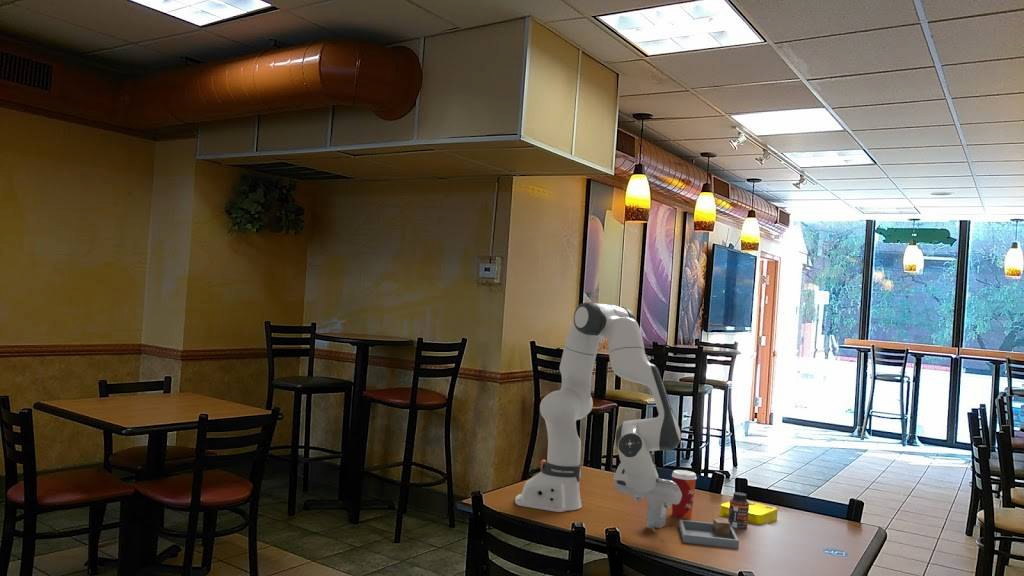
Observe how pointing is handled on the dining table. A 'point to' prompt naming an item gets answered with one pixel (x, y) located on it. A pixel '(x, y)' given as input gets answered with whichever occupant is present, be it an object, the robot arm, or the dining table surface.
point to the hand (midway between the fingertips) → (653, 503)
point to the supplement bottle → (738, 511)
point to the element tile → (754, 512)
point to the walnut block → (721, 527)
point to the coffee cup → (684, 493)
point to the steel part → (655, 514)
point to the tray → (706, 534)
